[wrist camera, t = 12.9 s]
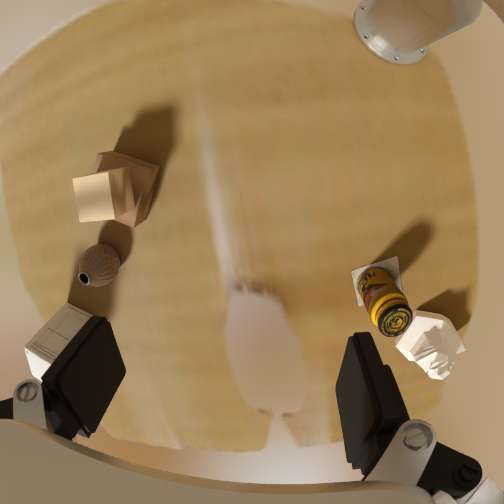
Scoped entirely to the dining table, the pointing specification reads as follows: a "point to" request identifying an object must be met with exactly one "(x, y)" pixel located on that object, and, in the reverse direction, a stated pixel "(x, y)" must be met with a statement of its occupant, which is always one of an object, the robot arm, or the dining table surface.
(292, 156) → the dining table surface
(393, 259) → the condiment
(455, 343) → the white faceted lump
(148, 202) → the walnut block
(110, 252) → the vase
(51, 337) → the supplement box
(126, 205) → the oak cube
